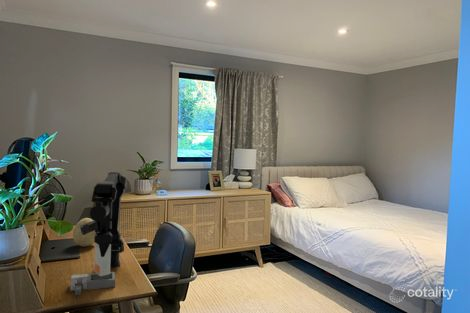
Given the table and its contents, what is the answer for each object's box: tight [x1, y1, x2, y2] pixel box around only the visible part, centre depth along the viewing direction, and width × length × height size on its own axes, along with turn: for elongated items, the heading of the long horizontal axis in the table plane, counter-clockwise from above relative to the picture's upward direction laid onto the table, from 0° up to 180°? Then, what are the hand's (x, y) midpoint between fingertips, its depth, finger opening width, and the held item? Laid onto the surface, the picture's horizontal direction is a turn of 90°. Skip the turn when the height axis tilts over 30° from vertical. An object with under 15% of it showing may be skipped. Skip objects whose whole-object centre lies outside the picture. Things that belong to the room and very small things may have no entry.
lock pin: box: [74, 280, 83, 296], centre depth 131 cm, size 11×2×3 cm, turn 21°
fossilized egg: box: [72, 217, 96, 248], centre depth 181 cm, size 13×13×15 cm
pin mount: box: [69, 273, 89, 292], centre depth 132 cm, size 6×6×4 cm
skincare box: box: [93, 242, 111, 276], centre depth 135 cm, size 6×4×12 cm
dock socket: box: [86, 271, 116, 291], centre depth 136 cm, size 8×10×3 cm
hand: (102, 253), depth 135 cm, fingers closed on skincare box, 7 cm apart
